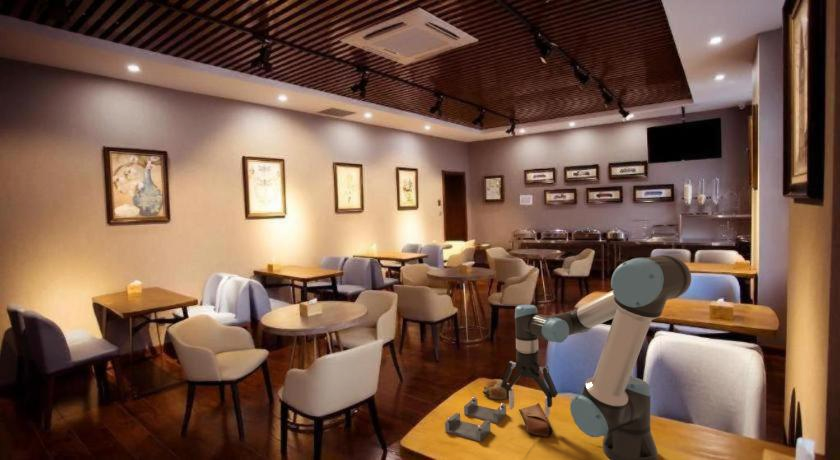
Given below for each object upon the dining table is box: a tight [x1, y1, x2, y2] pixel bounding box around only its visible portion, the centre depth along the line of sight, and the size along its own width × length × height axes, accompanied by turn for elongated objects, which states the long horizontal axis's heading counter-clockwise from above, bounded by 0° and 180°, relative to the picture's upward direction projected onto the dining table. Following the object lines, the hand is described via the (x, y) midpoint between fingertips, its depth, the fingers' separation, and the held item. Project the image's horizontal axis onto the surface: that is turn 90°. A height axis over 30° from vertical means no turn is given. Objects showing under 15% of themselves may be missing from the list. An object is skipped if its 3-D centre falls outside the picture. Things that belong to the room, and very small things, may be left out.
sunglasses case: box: [518, 402, 553, 438], centre depth 153 cm, size 18×7×7 cm
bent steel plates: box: [444, 396, 507, 443], centre depth 155 cm, size 13×22×4 cm, turn 147°
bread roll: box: [482, 378, 507, 401], centre depth 176 cm, size 10×10×8 cm
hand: (529, 411), depth 153 cm, fingers open, 12 cm apart
